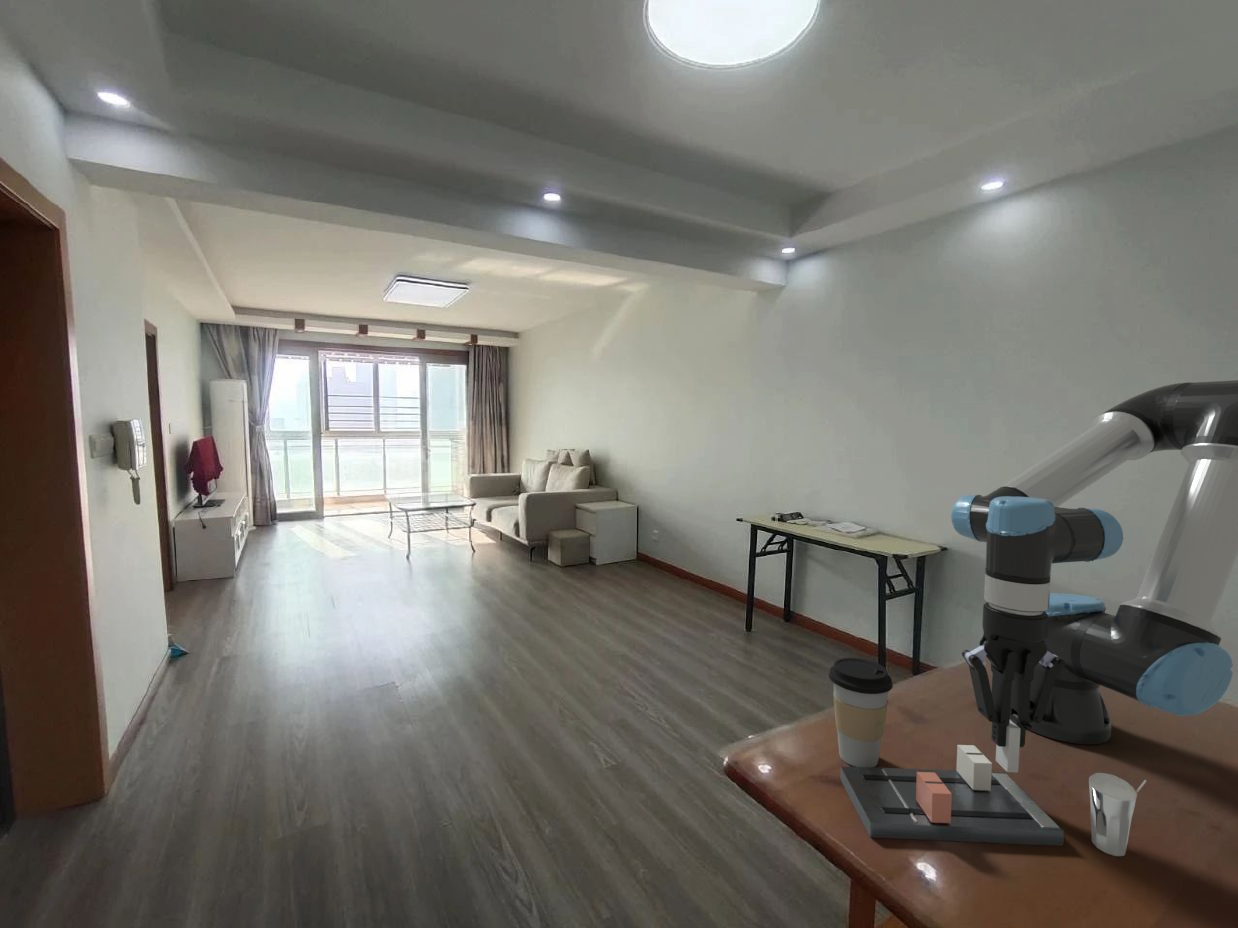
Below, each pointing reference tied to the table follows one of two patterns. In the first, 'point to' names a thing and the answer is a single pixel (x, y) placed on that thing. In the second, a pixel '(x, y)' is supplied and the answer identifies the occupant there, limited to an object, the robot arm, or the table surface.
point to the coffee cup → (860, 708)
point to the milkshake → (1111, 812)
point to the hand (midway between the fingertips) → (1006, 766)
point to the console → (974, 813)
